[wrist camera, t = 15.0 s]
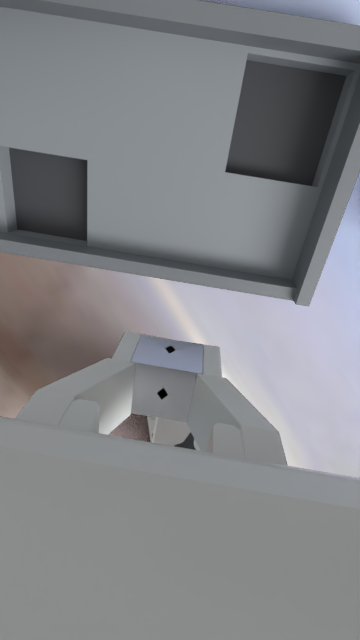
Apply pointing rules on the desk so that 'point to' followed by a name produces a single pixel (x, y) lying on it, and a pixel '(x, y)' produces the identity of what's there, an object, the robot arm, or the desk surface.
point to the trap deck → (178, 139)
